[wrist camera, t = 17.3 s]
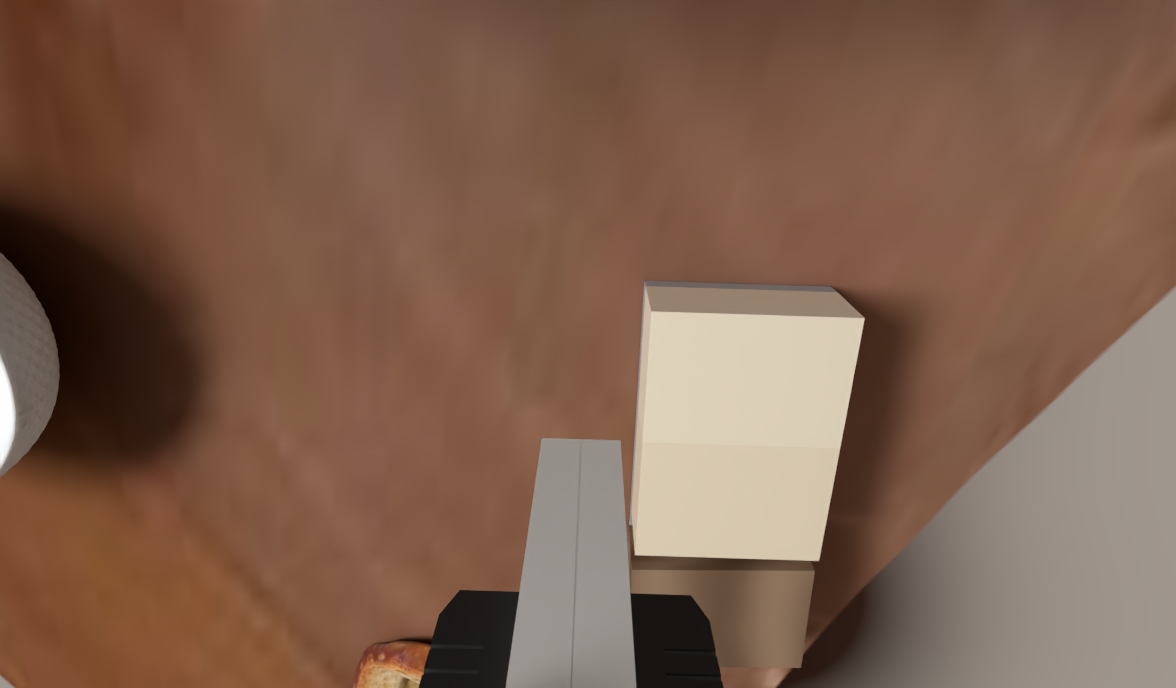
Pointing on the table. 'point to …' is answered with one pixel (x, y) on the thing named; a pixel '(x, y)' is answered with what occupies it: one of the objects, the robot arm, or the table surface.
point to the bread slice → (392, 665)
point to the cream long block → (739, 418)
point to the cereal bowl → (23, 367)
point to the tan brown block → (737, 602)
